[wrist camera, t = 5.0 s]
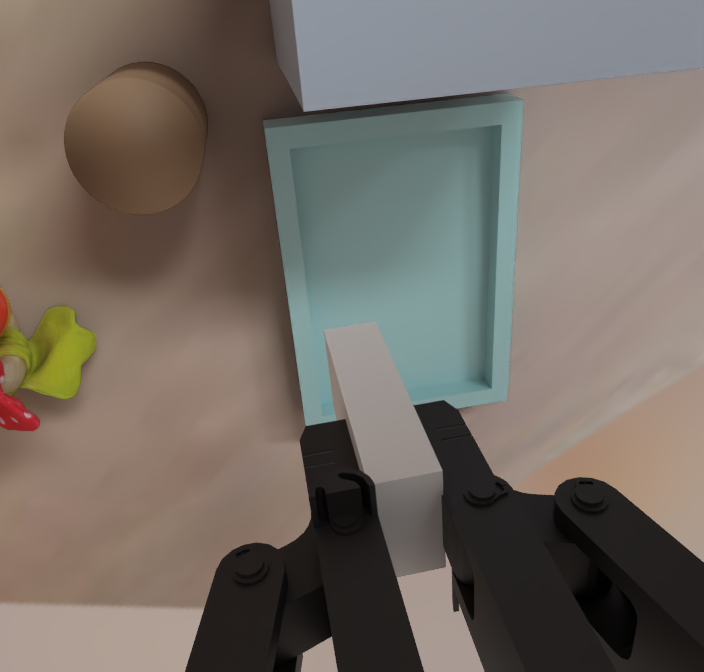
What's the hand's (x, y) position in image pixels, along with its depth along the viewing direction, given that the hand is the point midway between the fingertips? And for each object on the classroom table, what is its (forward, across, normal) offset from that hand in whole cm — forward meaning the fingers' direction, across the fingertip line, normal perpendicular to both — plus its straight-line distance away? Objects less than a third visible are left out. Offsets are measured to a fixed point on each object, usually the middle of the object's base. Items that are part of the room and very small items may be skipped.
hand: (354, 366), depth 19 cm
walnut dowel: (+16, -6, +5) cm, 18 cm away
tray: (+16, +5, -4) cm, 17 cm away
